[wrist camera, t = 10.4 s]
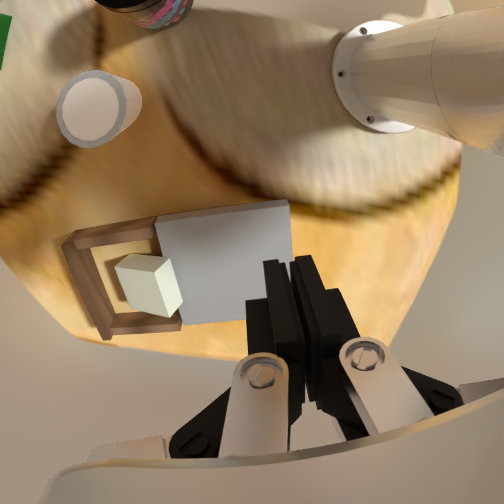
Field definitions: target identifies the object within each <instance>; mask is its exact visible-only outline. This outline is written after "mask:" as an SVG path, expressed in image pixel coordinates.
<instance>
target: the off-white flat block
mask: <svg viewBox="0 0 504 504" xmlns="http://www.w3.org/2000/svg"><path fill="white" fill-rule="evenodd" d="M115 270H116V273H117V275H118V278H119V281H120V283H121V286H122V288H123V291H124V293H125V296H126V298H127V301H128V303H129V305H130V308H131V309H134V310H138V311H143V312H147V313H151V314H155V315H160V316H164V317H169V318H170V317H171V316H172V314H173V313H174V312H175V311H176V310H177V308H178V307H179V306H180V305H181V304H182V302H183V300H182V297H181V293H180V290H179V287H178V284H177V280H176V277H175V273H174V270H173V267H172V263H171V260H170V258H169V257H159V256H149V255H140V254H129V255H128V256H127V257H125V258H124V259H123V260H122V261H121V262H119V263H118V264H117V265H116V266H115Z"/></svg>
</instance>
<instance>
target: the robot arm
mask: <svg viewBox="0 0 504 504" xmlns="http://www.w3.org/2000/svg"><path fill="white" fill-rule="evenodd" d="M359 30H361V31H362V34H361V33H360V31H359ZM339 72H341V74H342V76H341V77H339V76H338V73H339ZM332 78H333V82H334V87H335V90H336V92H337V95H338V97H339V99H340V101H341V102H342V104H343V105H344V107H345V109H346V110H347V111H348V112H349V113H350V114H351V115H352V116H353V117H354V118H355V119H356V120H358V121H359V122H360V123H362V124H363V125H365V126H367V127H369V128H371V129H374V130H377V131H379V132H384V133H403V132H408V131H410V130H412V129H414V128H416V127H417V128H420V129H423V130H427V131H430V132H433V133H436V134H439V135H442V136H445V137H448V138H450V139H453V140H456V141H459V142H461V143H464V144H467V145H469V146H472V147H475V148H478V149H481V150H483V151H486V152H488V153H492V154H495V155H500V156H504V6H499V7H493V8H487V9H482V10H475V11H469V12H464V13H458V14H453V15H447V16H443V17H438V18H434V19H429V20H425V21H421V22H417V23H413V24H409V25H405V26H402V25H400V24H398V23H395V22H391V21H387V20H373V21H367V22H364V23H362V24H359V25H357V26H356V27H354V28H352V29H350V30H349V31H348V32H347V33H346V34H345V35H344V36H343V37H342V38H341V40H340V41H339V43H338V44H337V46H336V49H335V52H334V55H333V61H332ZM367 117H369V120H368V121H367ZM289 266H290V279H289V275H288V271H287V268H286V264H285V262H283V263H279V260H278V259H273V260H265V261H263V268H264V277H265V286H266V296H267V298H261V299H252V300H245V307H246V325H247V342H248V356H247V357H245V358H244V359H242V360H241V361H240V362H239V363H238V364H237V366H236V368H235V370H234V374H233V380H232V385H231V387H230V388H229V389H227V391H225V392H224V393H223V394H222V395H220V396H219V397H218V398H217V399H216V400H215V401H213V402H212V403H211V404H210V405H209V406H207V407H206V408H205V409H204V410H202V411H201V412H200V413H199V414H198V415H196V416H195V417H194V418H193V419H191V420H190V421H189V422H188V423H186V424H185V425H184V426H183V427H181V428H180V429H179V430H178V431H177V432H176V433H175V434H174V435H173V436H172V437H166V438H163V437H162V436H161V435H160V436H155V437H149V438H144V439H137V440H131V441H124V442H116V443H108V444H103V445H100V446H97V447H96V448H94V449H93V450H92V451H91V453H90V454H89V456H88V459H87V462H82V463H79V464H75V465H72V466H69V467H67V468H64V469H62V470H60V471H59V472H57V473H55V474H54V475H53V476H52V477H51V478H50V479H49V480H48V482H47V484H46V485H45V487H44V489H43V491H42V493H41V496H40V499H39V501H38V504H504V378H499V379H494V380H488V381H482V382H475V383H468V384H461V385H459V387H458V388H454V387H452V386H451V385H448V384H446V383H444V382H441V381H438V380H436V379H433V378H431V377H428V376H425V375H423V374H420V373H417V372H415V371H412V370H410V369H408V368H405V367H402V366H400V365H399V363H398V362H397V360H396V359H395V358H394V356H393V355H392V354H391V352H390V351H389V349H388V348H387V347H386V346H385V345H384V344H383V343H382V342H380V341H378V340H377V339H373V338H370V337H360V335H359V332H358V330H357V328H356V325H355V323H354V321H353V319H352V316H351V314H350V312H349V310H348V308H347V305H346V303H345V301H344V299H343V297H342V294H341V292H340V290H339V289H338V288H334V289H327V290H325V287H324V285H323V283H322V280H321V278H320V275H319V273H318V271H317V268H316V266H315V263H314V261H313V259H312V256H311V255H305V256H297V257H295V261H291V262H289ZM305 383H306V388H307V393H308V397H309V401H310V402H313V401H316V406H317V409H318V410H320V409H322V411H323V412H325V413H327V414H329V415H331V418H332V422H333V425H334V427H335V429H336V431H337V433H338V436H339V438H340V440H341V443H336V444H331V445H326V446H321V447H315V448H309V449H303V450H296V451H291V425H292V424H293V423H294V422H295V421H296V420H297V419H298V418H299V416H300V415H301V414H302V412H301V411H302V403H305Z"/></svg>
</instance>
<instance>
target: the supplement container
mask: <svg viewBox="0 0 504 504" xmlns="http://www.w3.org/2000/svg"><path fill="white" fill-rule="evenodd" d="M95 1H96V2H98V3H99V4H101V5H102V6H104V7H106V8H107V9H109V10H111V11H114V12H116V13H118V14H119V15H121V16H123V17H125V18H126V19H128V20H130V21H131V22H133V23H135V24H137V25H138V26H140V27H142V28H145V29H150V30H159V29H164V28H168V27H170V26H172V25H174V24H176V23H178V22H179V21H181V20H182V19H183V18H184V17H185V16H186V15H187V14H188V12H189V11H190V9H191V7H192V4H193V0H95Z"/></svg>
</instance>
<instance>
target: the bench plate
mask: <svg viewBox="0 0 504 504" xmlns="http://www.w3.org/2000/svg"><path fill="white" fill-rule="evenodd" d="M154 224H155V228H156V232H157V236H158V239H159V243H160V247H161V251H162V254H163V257H169V258H170V260H171V263H172V267H173V270H174V273H175V277H176V280H177V284H178V287H179V290H180V293H181V297H182V300H183V302H182V304H181V305H180V306H179V307H178V309H179V312H180V315H181V318H182V322H183V325H194V324H205V323H215V322H225V321H234V320H243V319H246V307H245V300H252V299H261V298H267V296H266V286H265V277H264V268H263V261H265V260H273V259H278V260H279V263H283V262H285V264H286V268H287V271H288V275H289V279H290V266H289V262H291V261H293V254H292V238H291V222H290V208H289V204H288V201H287V199H282V200H273V201H264V202H256V203H248V204H240V205H232V206H225V207H217V208H210V209H203V210H196V211H189V212H182V213H175V214H169V215H162V216H158V218H157V220H156V221H155V223H154Z"/></svg>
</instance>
